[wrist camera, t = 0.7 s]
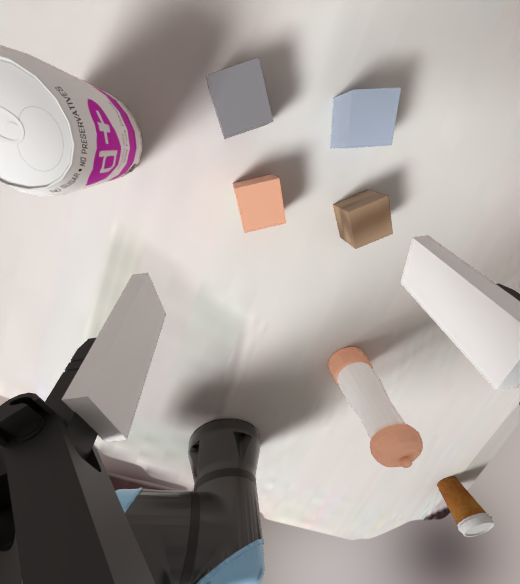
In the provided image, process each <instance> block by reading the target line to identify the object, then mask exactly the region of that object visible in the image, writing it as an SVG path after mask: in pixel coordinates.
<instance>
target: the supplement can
mask: <svg viewBox="0 0 520 584" xmlns="http://www.w3.org/2000/svg"><path fill="white" fill-rule="evenodd" d="M142 149H143V146H142V137H141V132H140V129H139V127H138V125H137V122H136V120H135V118H134V116H133V115H132V114H131V112H130V111H129V110H128V109H127V108H126V106H125V105H124V104H123V103H122V102H120V101H119V100H118V99H116V98H115V97H113V96H112V95H111V94H109V93H107V92H105V91H103V90H101V89H99V88H97V87H95V86H93V85H91V84H89V83H87V82H85V81H83V80H80V79H78V78H76V77H74V76H72V75H70V74H68V73H66V72H64V71H62V70H60V69H58V68H56V67H54V66H52V65H50V64H48V63H46V62H44V61H41V60H39V59H37V58H35V57H33V56H31V55H29V54H26V53H23V52H20V51H17V50H14V49H11V48H7V47H4V46H1V45H0V183H1V184H3V185H5V186H9V187H13V188H14V189H16V190H18V191H20V192H25V193H29V194H34V195H39V196H43V197H46V196H55V195H63V194H68V193H71V192H74V191H77V190H81V189H84V188H87V187H91V186H94V185H97V184H100V183H104V182H107V181H110V180H114V179H117V178H120V177H123V176H124V175H126V174H128V173H130V172H132V171H133V169H134V168H135V167H136V165H137V164H138V163H139V161H140V157H141V153H142Z"/></svg>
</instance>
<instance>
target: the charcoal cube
mask: <svg viewBox="0 0 520 584" xmlns="http://www.w3.org/2000/svg"><path fill="white" fill-rule="evenodd" d="M206 79H207V84H208V88H209V91H210V94H211V98H212V101H213V104H214V107H215V111H216V114H217V117H218V120H219V123H220V127H221V130H222V133H223V136H224V139H226V138H229V137H232V136H235V135H238V134H241V133H244V132H247V131H250V130H253V129H255V128H258V127H261V126H264V125H267V124H269V123H271V122H273V118H272V114H271V109H270V105H269V100H268V96H267V91H266V87H265V82H264V78H263V73H262V69H261V64H260V59H259V57H258V58H255V59H252V60H249V61H246V62H243V63H241V64H238V65H235V66H232V67H229V68H226V69H223V70H220V71H217V72H214V73H212V74H209V75H206Z"/></svg>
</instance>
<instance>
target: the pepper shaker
mask: <svg viewBox="0 0 520 584" xmlns="http://www.w3.org/2000/svg"><path fill="white" fill-rule="evenodd" d="M328 368H329V370H330V372H331V374H332V376H333V378H334V380H335V382H336V384H337V385H338V386H340V388H341V390H342V392H343V394H344V397H345V398H346V400H347V401H348V403H349V404H350V405H351V407H352V408H353V410H354V411H355V412H356V414H357V415H358V416H359V418H360V420H361V422H362V424H363V426H364V428H365V429H366V431H367V433H368V435H369V437H370V439H371V441H370V450H371V454H372V455H373V457H374V458H375V459H376V460H377V461H378V462H379V463H381V464H382V465H384V466H386V467H401V466H402V467H404V468H408V467H410V466H411V465H412V462H413V461H414V460H415V459H416V458H417V457H418V456H419V455H420V453H421V452H422V448H423V445H422V439H421V437H420V434H419V432H418V431H416V430H415V429H414V428H413V427H411V426H409V425H408V424H405V422H404V421H403V419H402V418H401V416H400V415H399V413H398V412H397V410H396V409H395V407H394V406H393V404H392V403H391V401H390V399H389V397H388V395H387V393H386V391H385V389H384V387H383V384H382V382H381V380H380V379H379V377H378V376H377V375H376V373H375V372H374V371H373V366H372V364H371V363H370V361H369V360H368V358H367V357H366V355H365V354H364V353H363V351H362V350H361V349H359V348H357V347H346V348H342V349H340V350H338V351H336V352H335V353H334V354H333V355H332V356H331V358H330V359H329V362H328Z"/></svg>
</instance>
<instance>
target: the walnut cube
mask: <svg viewBox="0 0 520 584" xmlns="http://www.w3.org/2000/svg"><path fill="white" fill-rule="evenodd" d="M333 207H334V212H335V216H336V220H337V224H338V229H339V233H340V237H341V238H342V239H343V240H345V241H346V242H347V243H349V244H350V245H351V246H353V247H354V248H355V249H357V248H359V247H362V246H364V245H367V244H369V243H371V242H374V241H376V240H379V239H381V238H384V237H386V236H388V235H391V234H393V230H392V222H391V213H390V205H389V197H388V195H385V194H381V193H378V192H374V191H371V190H366V191H364V192H361V193H359V194H357V195H354V196H352V197H350V198H347V199H345V200H343V201H340V202H338V203H335V204H333Z"/></svg>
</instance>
